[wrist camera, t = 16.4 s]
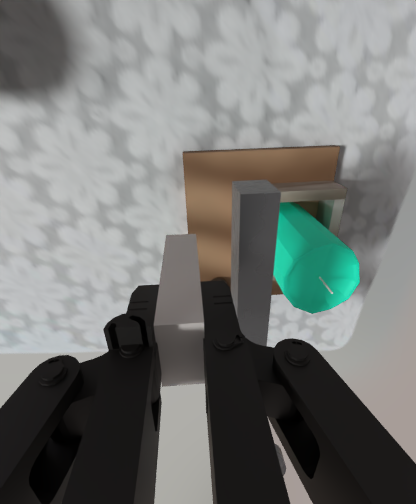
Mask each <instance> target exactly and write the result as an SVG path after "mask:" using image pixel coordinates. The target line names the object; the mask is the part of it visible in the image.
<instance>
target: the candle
mask: <svg viewBox="0 0 416 504" xmlns="http://www.w3.org/2000/svg"><path fill="white" fill-rule="evenodd" d="M273 275H274V277H275V279H276V281H277V283H278V285H279V286H280V288H281V290H282V292H283V294H284V295H285V296H286V298H287V299H288V300H289V301H290V302H291V304H292V305H293V306H294V307H296V308H299V309H301V310H304V311H306V312H309V313H312V314H313V313H317V312H321V311H325V310H329V309H331V308H333V307H335V306H337V305H339V304H340V303H342V302H344V301H346V300H347V299H349V297H350V296H351V294H352V293H353V292H354V290H355V289H356V287H357V286H358V284H359V283H360V280H359V262H358V260H357V258H356V256H355V254H354V252H353V251H352V250H351V249H350V248H349V247H348V246H347V245H345V244H344V243H343V242H342V241H341V240H340V239H338V238H337V237H336V236H335V235H334V234H333V233H331V232H330V231H329V230H328V229H327V228H326V227H324V226H323V225H322V224H321V223H320V222H319V221H317V220H316V219H315V218H314V217H313V216H312V215H310V214H309V213H308V212H307V211H306V210H305V209H303V208H302V207H301V206H300V205H298V204H296V203H293V202H280V209H279V220H278V230H277V240H276V251H275V261H274V272H273Z"/></svg>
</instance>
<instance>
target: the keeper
mask: <svg viewBox="0 0 416 504" xmlns="http://www.w3.org/2000/svg"><path fill="white" fill-rule="evenodd" d="M280 199H281V192H280V191H279V190H278V189H277V188H276V187H275V186H273V185H272V184H271V183H270V182H269V181H268V180H247V181H232V232H231V295H232V299H233V304H234V307H235V311H236V314H237V318H238V322H239V326H240V330H241V332H242V334H244V336H245V337H246V338H247V339H248V340H250V341H251V342H253V343H255V344H259V345H262V346H266V345H267V334H268V324H269V313H270V303H271V293H272V282H273V272H274V261H275V251H276V240H277V230H278V220H279V209H280ZM219 280H223V281H224V282H225V283H226V284H227V282H226V281H225V280H224V279H221V278H215V279H212V280H211V281H219ZM275 448H276V452H277V456H278V459H279V463H280V467H281V471H282V474H283V475H284V474H285V471H286V466H285V462H284V459H283V455H282V452H281V449H280V448H279V446H278V445H276V444H275Z"/></svg>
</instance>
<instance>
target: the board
mask: <svg viewBox="0 0 416 504" xmlns="http://www.w3.org/2000/svg"><path fill="white" fill-rule="evenodd" d="M339 149H340V147H338V146H335V145H330V146H306V147H282V148H259V149H235V150H211V151H188V152H183V165H184V179H185V194H186V209H187V223H188V234H196V240H197V251H198V262H199V273H200V282H201V281H211V280H212V279H215V278H221V279H224V280H225V281H226V282H227V285H228V286H229V287H230V291H231V232H232V181H247V180H268V181H269V182H270V183H271V184H272V185H273V186H275V187H276V188H277V189H278V190H279V191H280V192H281V199H280V202H293V203H296V204H298V205H300V206H301V207H302V208H303V209H305V210H306V211H307V212H308V213H309V214H310V215H312V216H313V217H314V218H315V219H316V220H317V221H319V222H320V223H321V224H322V225H323V226H324V227H326V228H327V229H328V230H329V231H330V232H331V233H333V234H334V235H335V236H336V237H337V236H338V231H339V226H340V221H341V216H342V212H343V207H344V202H345V197H346V192H347V188H345V187H343V186H342V185H340V184H338V183H336V182H334V177H335V171H336V166H337V160H338V155H339ZM277 294H283V292H282V290H281V288H280V286H279V285H278V283H277V281H276V279H275V277H274V275H273V282H272V293H271V295H277Z"/></svg>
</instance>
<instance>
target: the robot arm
mask: <svg viewBox="0 0 416 504" xmlns="http://www.w3.org/2000/svg"><path fill="white" fill-rule="evenodd" d="M104 333H105V337H106V341H107V345H108V349H109V351H108V352H107V353H105V354H104V355H102V356H100V357H97V358H95V359H92V360H88V361H85V362H82V363H79V362H78V361H77V359H76V358H74V357H71V356H69V355H65V356H64V355H62V356H57V357H53V358H50V359H48V360H46V361H45V362H43V363H41V364H40V365H39V366H37V367H36V368H35V369H34V370H33V371H32V372H31V373H30V374H29V376H28V377H27V378H26V379H25V380H24V381H23V383H22V384H21V385H20V386H19V387H18V388H17V390H16V391H15V392H14V393H13V394H12V395H11V397H10V398H9V399H8V400H7V401H6V402H5V404H4V405H3V406H2V407H1V408H0V504H61V503H62V504H154V497H155V483H156V469H157V457H158V442H159V430H160V416H161V395H160V387H161V382H162V387H163V386H176V385H187V384H201V383H205V388H206V413H207V422H208V435H209V436H208V437H209V450H210V465H211V479H212V493H213V504H290V501H289V497H288V493H287V489H286V486H285V482H284V478H283V474H282V471H281V467H280V463H279V459H278V456H277V452H276V448H275V444H274V440H273V437H272V434H271V429H270V426H269V422H268V418H269V420H270V422H271V424H272V426H273V428H274V430H275V432H276V434H277V435H278V437H279V439H280V441H281V443H282V445H283V447H284V449H285V451H286V453H287V455H288V457H289V459H290V460H291V462H292V464H293V466H294V468H295V470H296V472H297V474H298V476H299V478H300V480H301V482H302V483H303V485H304V487H305V489H306V491H307V493H308V495H309V497H310V499H311V501H312V502H313V504H416V464H415V463H414V461H413V460H412V459H411V458H410V457H409V456H408V455H407V453H406V452H405V451H404V450H403V449H402V448H401V446H400V445H399V444H398V443H397V442H396V441H395V439H394V438H393V437H392V436H391V435H390V434H389V433H388V431H387V430H386V429H385V428H384V427H383V426H382V425H381V423H380V422H379V421H378V420H377V419H376V418H375V416H374V415H373V414H372V413H371V412H370V411H369V410H368V408H367V407H366V406H365V405H364V404H363V403H362V402H361V400H360V399H359V398H358V397H357V396H356V395H355V393H354V392H353V391H352V390H351V389H350V388H349V387H348V385H347V384H346V383H345V382H344V381H343V380H342V379H341V377H340V376H339V375H338V374H337V373H336V372H335V370H334V369H333V368H332V367H331V366H330V365H329V363H328V362H327V361H326V360H325V359H324V358H323V357H322V355H321V354H320V353H319V352H318V351H317V350H316V349H315V348H314V347H313V346H312V345H310V344H309V343H307V342H305V341H302V340H298V339H293V338H292V339H284V340H282V341H280V342H278V343H277V345H276V346H275V347H274V348H272V347H267V346H262V345H259V344H255V343H253V342H251V341H250V340H248V339H247V338H246V337H245V336H244V334H242V332H241V330H240V326H239V322H238V318H237V314H236V311H235V307H234V304H233V299H232V295H231V291H230V287H229V286H228V285H227V284H226V283H225V282H224V281H223V280H219V281H201V282H200V273H199V262H198V251H197V240H196V234H182V235H166V241H165V248H164V255H163V262H162V270H161V277H160V284H159V285H143V286H138V287H137V288H136V290H135V291H134V292H133V293H132V295H131V298H130V302H129V305H128V309H127V312H126V314H122V315H119V316H117V317H115V318H113V319H112V320H111V321H109V322H108V323H107V325H106V326H105V328H104ZM267 416H268V418H267Z"/></svg>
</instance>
